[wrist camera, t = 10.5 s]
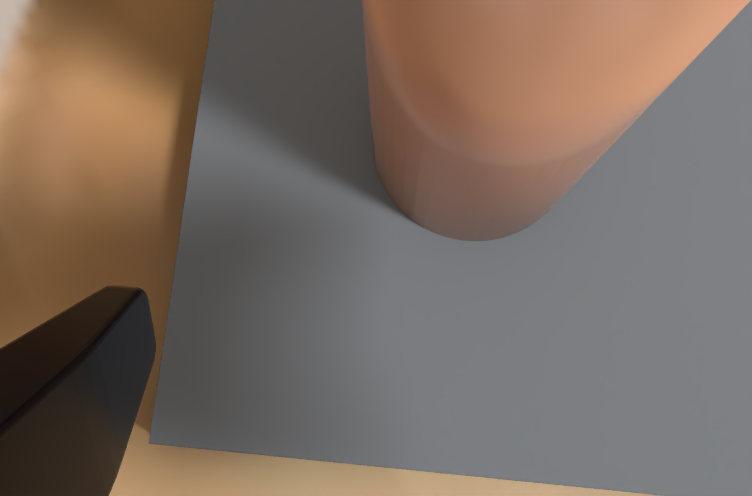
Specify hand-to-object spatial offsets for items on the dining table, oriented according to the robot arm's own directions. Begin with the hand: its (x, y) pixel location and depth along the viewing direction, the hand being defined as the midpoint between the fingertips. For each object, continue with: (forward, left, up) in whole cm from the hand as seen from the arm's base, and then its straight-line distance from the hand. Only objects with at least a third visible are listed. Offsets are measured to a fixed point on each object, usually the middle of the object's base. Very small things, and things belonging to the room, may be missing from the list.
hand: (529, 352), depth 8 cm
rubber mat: (+5, +1, -9) cm, 11 cm away
